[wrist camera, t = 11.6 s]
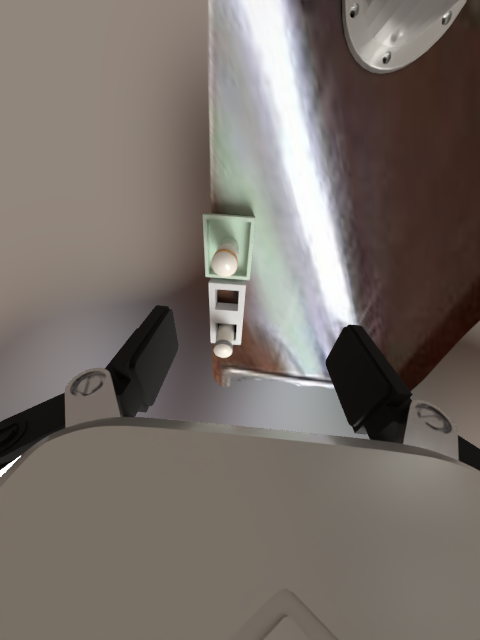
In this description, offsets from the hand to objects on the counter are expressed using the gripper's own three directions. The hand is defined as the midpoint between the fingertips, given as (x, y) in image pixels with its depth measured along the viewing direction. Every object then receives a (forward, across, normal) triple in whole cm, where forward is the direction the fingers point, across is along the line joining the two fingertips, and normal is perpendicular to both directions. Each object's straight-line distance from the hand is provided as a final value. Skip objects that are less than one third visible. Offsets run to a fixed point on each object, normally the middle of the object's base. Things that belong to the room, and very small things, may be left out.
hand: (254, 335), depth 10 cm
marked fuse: (+26, +4, +3) cm, 27 cm away
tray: (+27, +4, +3) cm, 27 cm away
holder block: (+26, +4, +16) cm, 31 cm away
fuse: (+26, +4, +20) cm, 33 cm away
